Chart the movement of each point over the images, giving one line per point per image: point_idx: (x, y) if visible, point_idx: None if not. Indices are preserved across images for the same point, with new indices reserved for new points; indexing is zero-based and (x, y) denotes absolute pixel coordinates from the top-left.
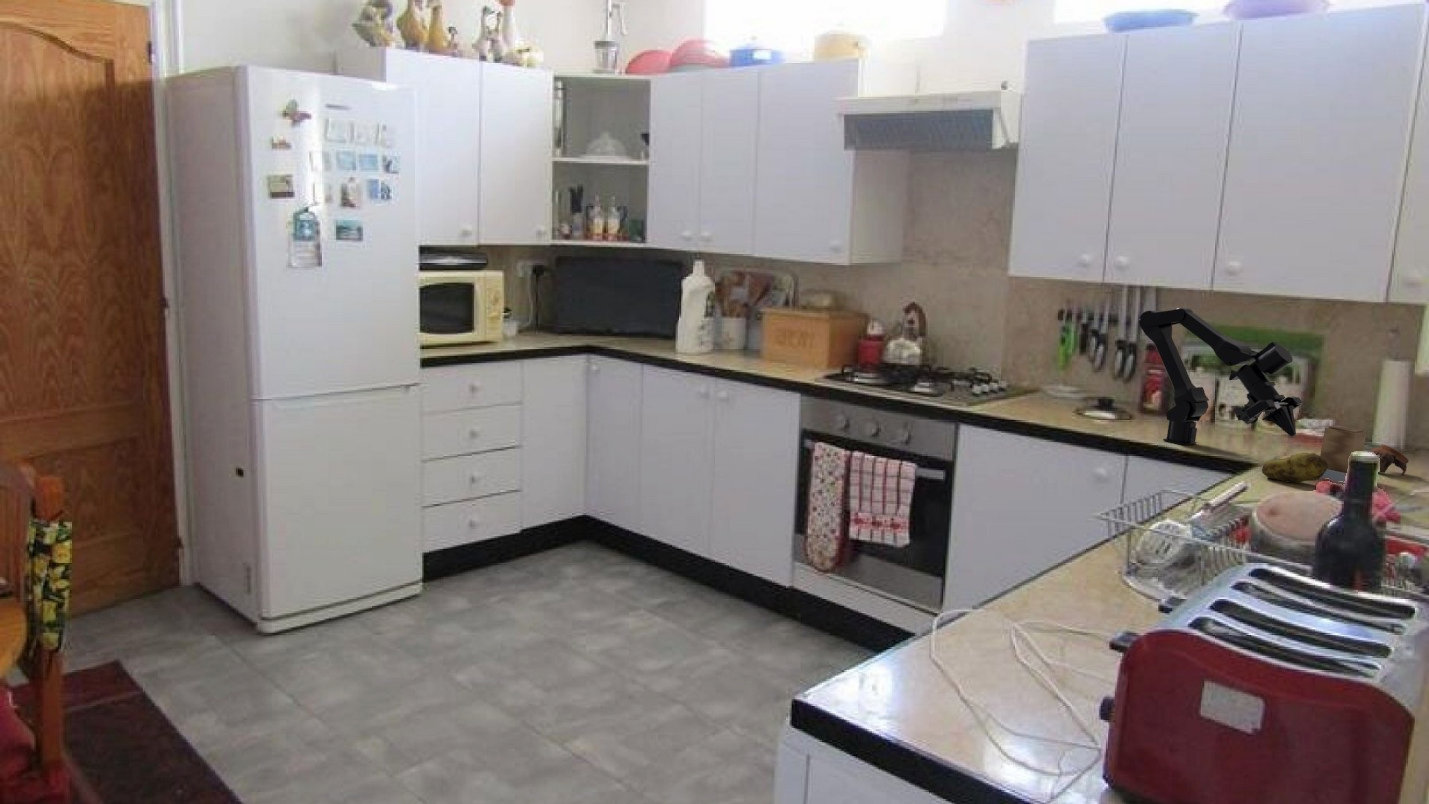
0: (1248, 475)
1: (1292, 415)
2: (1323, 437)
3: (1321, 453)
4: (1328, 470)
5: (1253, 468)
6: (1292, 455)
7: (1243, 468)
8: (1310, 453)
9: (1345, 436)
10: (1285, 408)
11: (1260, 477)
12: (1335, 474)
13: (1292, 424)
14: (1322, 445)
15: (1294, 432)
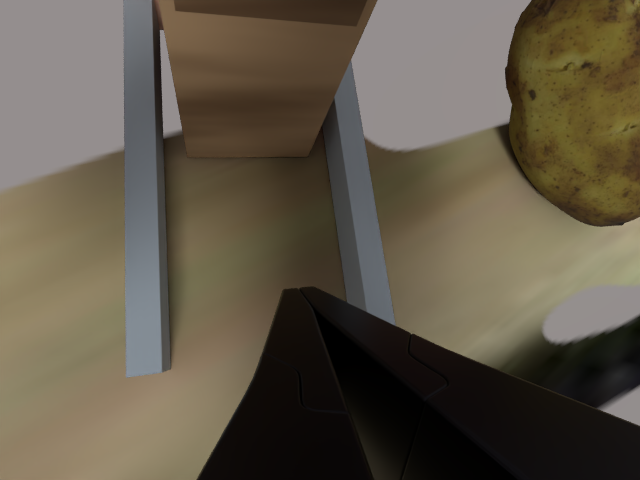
0: (612, 274)
1: (290, 398)
2: (373, 6)
3: (337, 85)
4: (352, 75)
5: (490, 358)
6: (160, 367)
7: (541, 372)
8: (630, 6)
9: None
10: (599, 466)
11: (588, 236)
12: None
13: (317, 332)
14: (354, 50)
15: (311, 291)
